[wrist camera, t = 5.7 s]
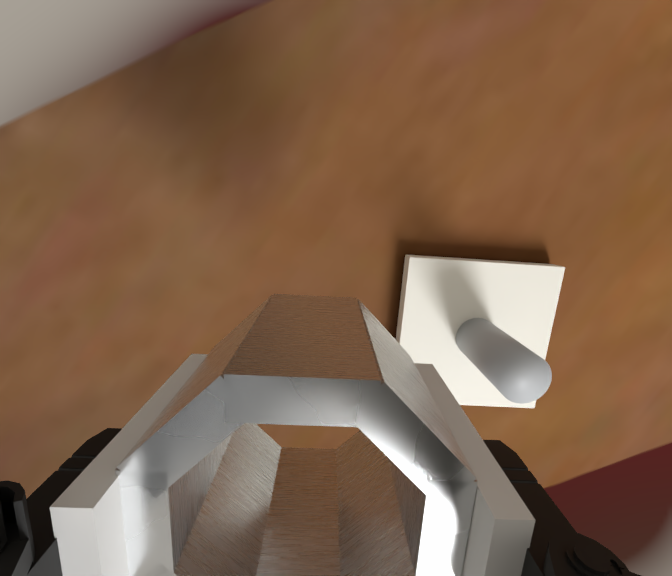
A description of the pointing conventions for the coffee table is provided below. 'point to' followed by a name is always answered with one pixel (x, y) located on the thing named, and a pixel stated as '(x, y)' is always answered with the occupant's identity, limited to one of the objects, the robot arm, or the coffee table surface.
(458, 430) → the robot arm
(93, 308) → the coffee table surface
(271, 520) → the tube
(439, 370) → the post
